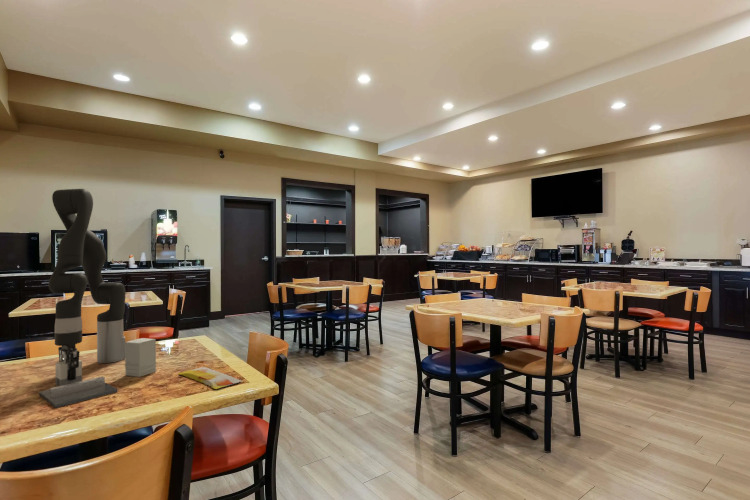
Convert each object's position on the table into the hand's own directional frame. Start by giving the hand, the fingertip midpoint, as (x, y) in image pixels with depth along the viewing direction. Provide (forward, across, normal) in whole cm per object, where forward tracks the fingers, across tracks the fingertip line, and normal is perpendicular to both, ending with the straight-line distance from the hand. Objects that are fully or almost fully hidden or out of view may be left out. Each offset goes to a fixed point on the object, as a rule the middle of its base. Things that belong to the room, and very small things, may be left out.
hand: (68, 378), depth 133 cm
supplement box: (+2, -8, -20) cm, 22 cm away
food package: (+3, -35, -32) cm, 47 cm away
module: (+2, 0, 0) cm, 2 cm away
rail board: (+2, -14, +1) cm, 14 cm away
